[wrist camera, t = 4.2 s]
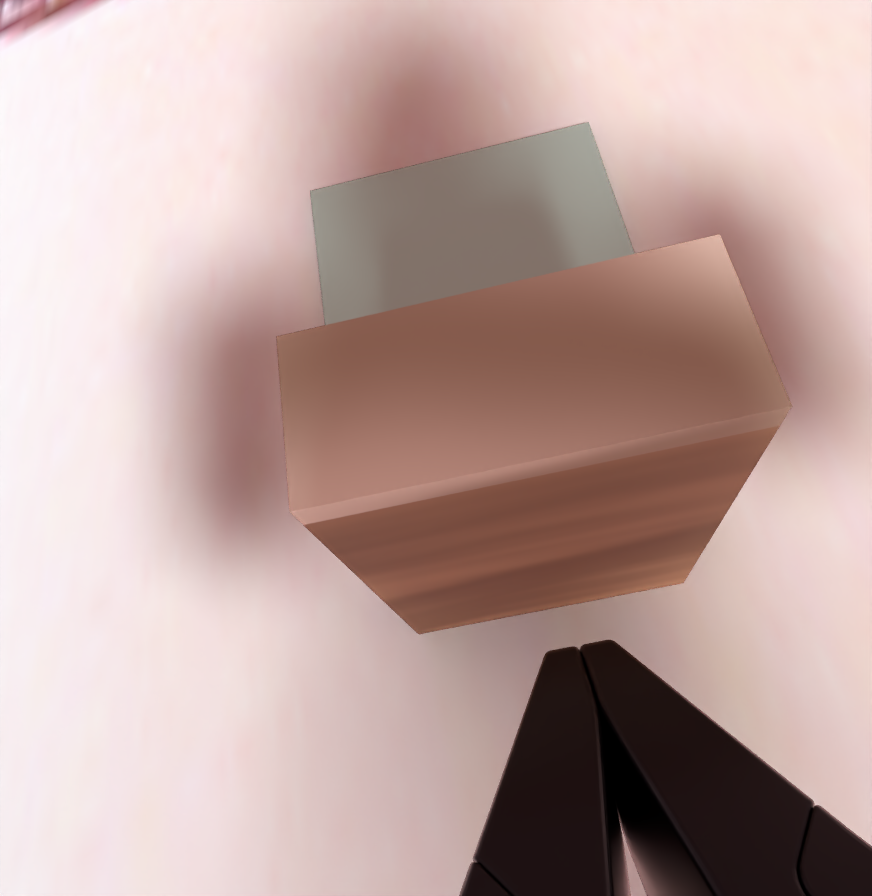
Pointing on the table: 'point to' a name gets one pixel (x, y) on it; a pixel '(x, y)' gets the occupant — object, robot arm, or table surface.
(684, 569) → the slab
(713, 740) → the robot arm
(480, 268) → the mat
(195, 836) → the table surface
